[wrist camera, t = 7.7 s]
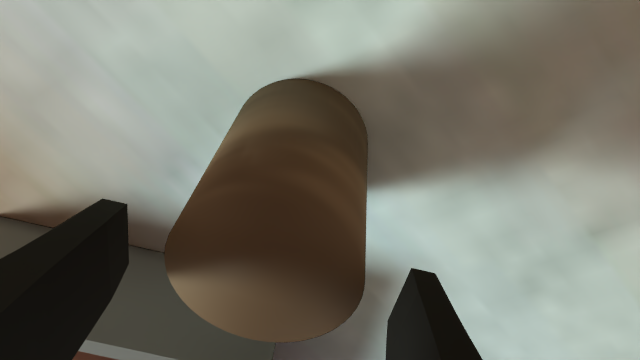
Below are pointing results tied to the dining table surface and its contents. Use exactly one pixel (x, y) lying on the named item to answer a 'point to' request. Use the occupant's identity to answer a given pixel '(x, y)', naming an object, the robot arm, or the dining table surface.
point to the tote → (147, 313)
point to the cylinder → (278, 218)
